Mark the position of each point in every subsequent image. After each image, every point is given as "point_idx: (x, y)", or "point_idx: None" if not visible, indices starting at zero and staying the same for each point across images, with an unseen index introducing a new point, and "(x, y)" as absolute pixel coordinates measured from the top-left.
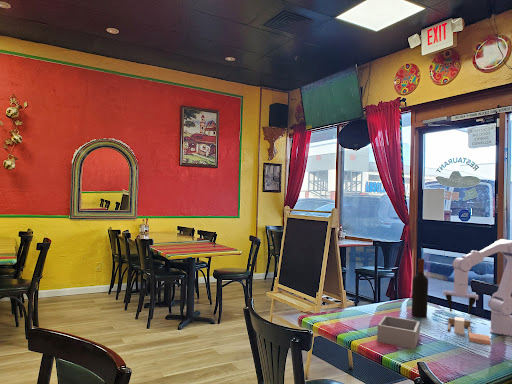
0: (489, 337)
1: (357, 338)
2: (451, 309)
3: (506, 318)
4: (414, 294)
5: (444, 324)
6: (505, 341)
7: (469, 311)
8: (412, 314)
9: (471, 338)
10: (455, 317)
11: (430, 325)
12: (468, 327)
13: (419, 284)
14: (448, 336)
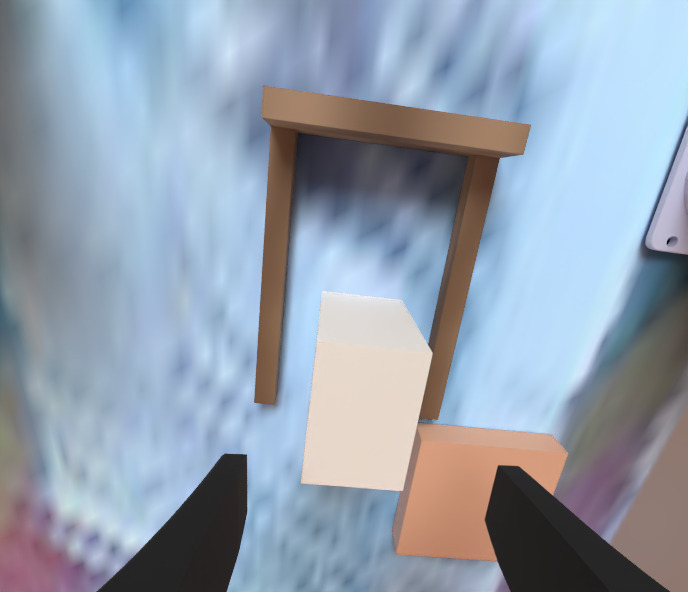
0: (554, 489)
1: None
2: (234, 557)
3: None
4: None
5: (233, 166)
6: (663, 424)
7: (518, 578)
8: None
9: (410, 550)
10: (320, 381)
11: (104, 286)
12: (460, 243)
13: None
14: (262, 507)
